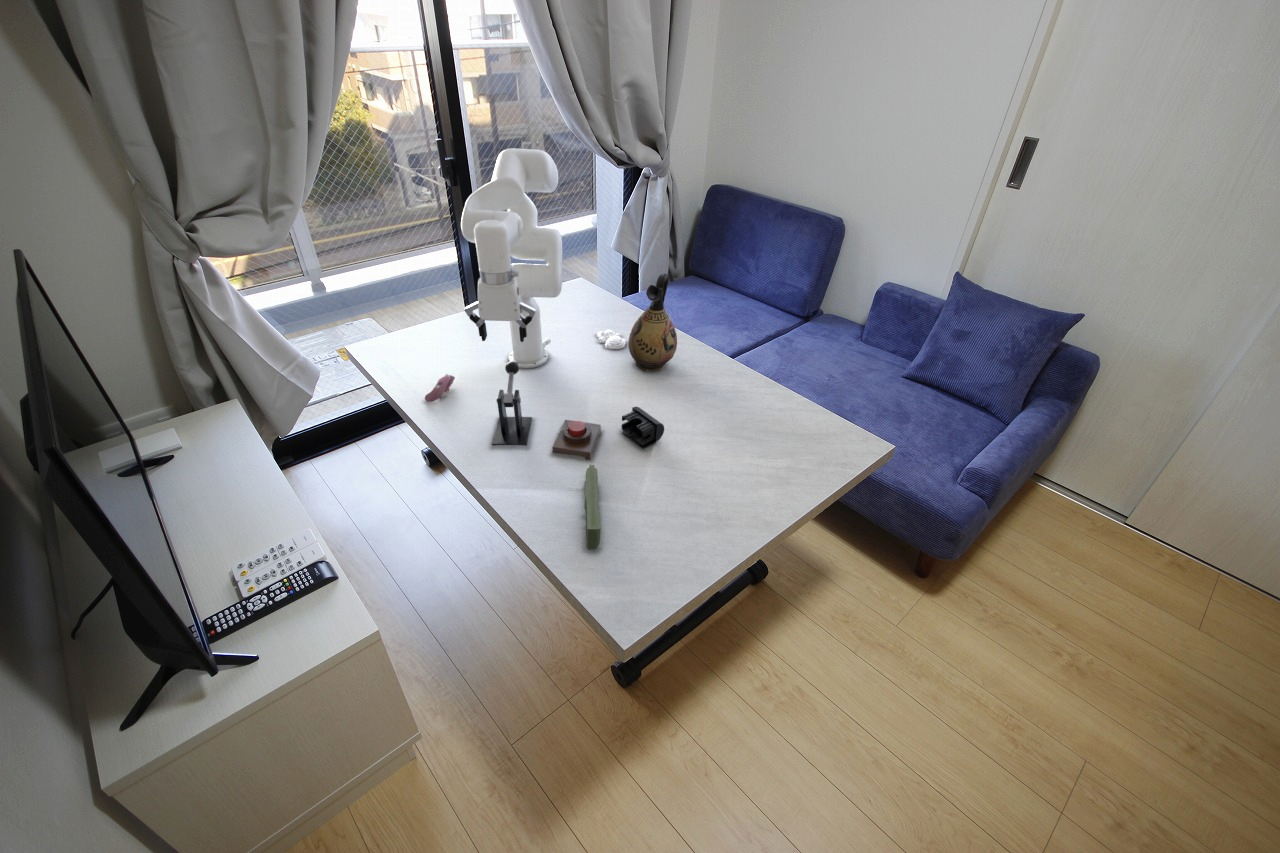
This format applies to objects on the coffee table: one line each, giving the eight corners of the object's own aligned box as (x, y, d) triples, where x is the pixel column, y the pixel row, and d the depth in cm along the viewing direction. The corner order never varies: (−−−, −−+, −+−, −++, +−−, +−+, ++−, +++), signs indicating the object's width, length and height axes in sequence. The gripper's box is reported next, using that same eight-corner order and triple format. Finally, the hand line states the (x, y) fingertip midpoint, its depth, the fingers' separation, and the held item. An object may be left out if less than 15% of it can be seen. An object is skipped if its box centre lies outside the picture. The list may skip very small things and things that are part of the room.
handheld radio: (584, 549, 123) (584, 471, 142) (599, 549, 123) (597, 472, 143) (585, 528, 118) (584, 451, 138) (601, 528, 119) (598, 451, 139)
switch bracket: (499, 420, 158) (494, 381, 150) (532, 420, 158) (528, 381, 150) (492, 447, 148) (486, 407, 140) (526, 447, 149) (522, 408, 141)
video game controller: (437, 408, 163) (443, 392, 159) (422, 400, 162) (428, 384, 158) (452, 390, 171) (459, 374, 166) (439, 382, 170) (445, 366, 166)
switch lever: (507, 366, 154) (505, 358, 150) (520, 366, 154) (518, 358, 151) (502, 408, 147) (500, 401, 144) (516, 408, 147) (514, 401, 144)
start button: (571, 425, 150) (570, 419, 149) (587, 427, 150) (587, 422, 149) (566, 435, 147) (566, 429, 146) (583, 437, 147) (582, 432, 146)
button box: (565, 427, 156) (564, 414, 154) (600, 432, 155) (600, 419, 152) (552, 454, 147) (551, 441, 144) (590, 460, 146) (590, 447, 143)
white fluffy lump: (615, 331, 201) (615, 323, 199) (629, 347, 193) (630, 339, 191) (592, 335, 198) (592, 328, 196) (606, 352, 190) (606, 344, 188)
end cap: (663, 440, 154) (665, 420, 150) (644, 450, 150) (645, 430, 146) (639, 422, 159) (640, 403, 155) (620, 432, 156) (620, 412, 152)
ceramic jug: (666, 381, 177) (674, 291, 158) (620, 370, 181) (622, 282, 162) (682, 356, 190) (691, 270, 171) (639, 346, 193) (643, 261, 175)
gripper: (534, 270, 138) (539, 332, 149) (462, 268, 137) (472, 331, 148) (530, 282, 132) (535, 347, 143) (455, 280, 131) (466, 345, 142)
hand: (503, 339), depth 145 cm, fingers open, 9 cm apart
